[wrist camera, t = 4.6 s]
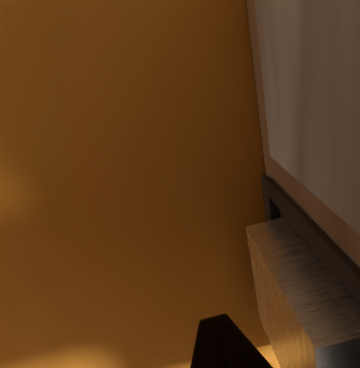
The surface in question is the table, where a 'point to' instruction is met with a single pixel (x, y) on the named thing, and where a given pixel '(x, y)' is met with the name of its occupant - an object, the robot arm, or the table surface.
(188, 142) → the table surface
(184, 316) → the table surface
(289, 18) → the socket block
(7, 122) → the table surface
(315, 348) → the peg
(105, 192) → the table surface
